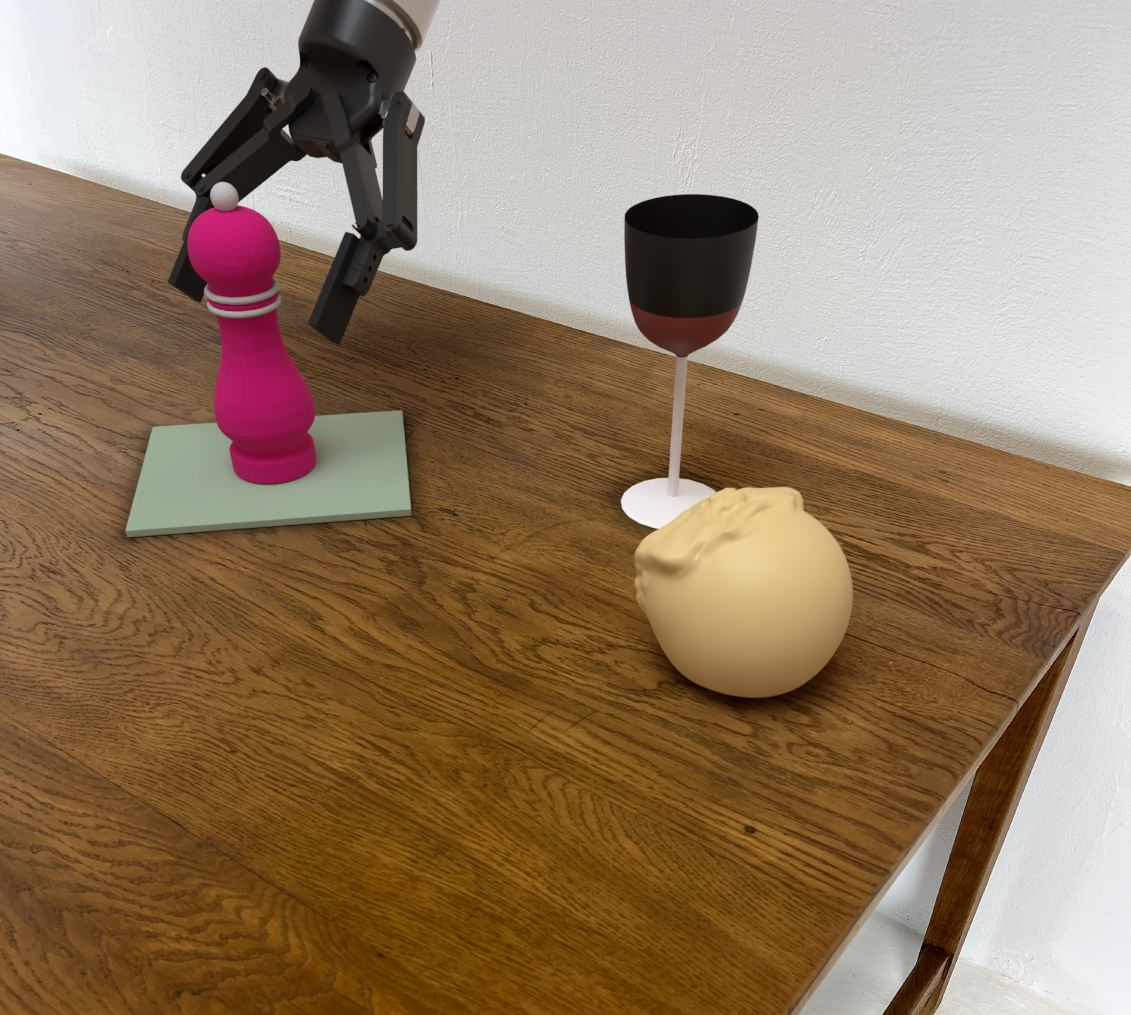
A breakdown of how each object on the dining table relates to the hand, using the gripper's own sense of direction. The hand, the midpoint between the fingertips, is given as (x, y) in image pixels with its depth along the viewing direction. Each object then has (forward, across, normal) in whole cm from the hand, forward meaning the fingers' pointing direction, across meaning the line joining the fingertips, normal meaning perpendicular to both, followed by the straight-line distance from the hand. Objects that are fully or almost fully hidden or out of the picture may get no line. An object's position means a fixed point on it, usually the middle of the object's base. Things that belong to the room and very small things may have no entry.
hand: (251, 313), depth 79 cm
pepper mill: (+8, 0, -8) cm, 12 cm away
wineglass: (0, -28, -17) cm, 33 cm away
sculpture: (+10, -40, -7) cm, 42 cm away
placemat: (+9, 0, -8) cm, 12 cm away
